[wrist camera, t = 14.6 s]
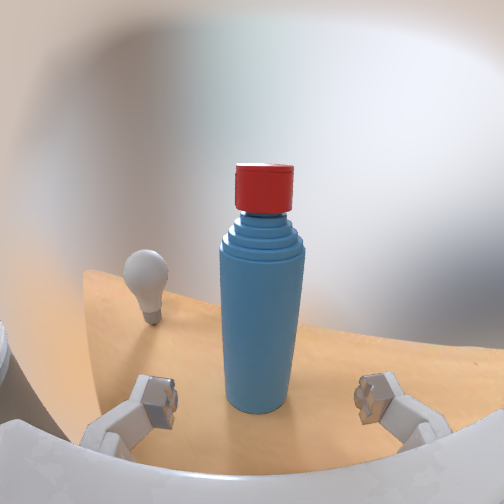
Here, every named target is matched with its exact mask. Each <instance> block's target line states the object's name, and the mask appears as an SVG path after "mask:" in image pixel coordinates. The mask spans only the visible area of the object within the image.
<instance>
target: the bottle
mask: <svg viewBox="0 0 504 504" xmlns="http://www.w3.org/2000/svg"><path fill="white" fill-rule="evenodd" d="M219 248H220V249H219V250H220V286H221V314H222V336H223V355H224V372H225V388H226V396H227V399H228V401H229V402H230V403H231V404H232V405H233V406H234V407H235V408H237V409H238V410H240V411H242V412H245V413H250V414H264V413H268V412H271V411H273V410H275V409H277V408H278V407H280V406H281V405H282V404H283V402H284V401H285V399H286V396H287V391H288V385H289V378H290V372H291V366H292V359H293V352H294V345H295V338H296V331H297V323H298V315H299V306H300V298H301V290H302V281H303V271H304V261H305V247H304V246H303V240H302V238H301V237H300V236H298V232H297V230H296V229H294V228H293V227H292V222H291V221H289V220H287V215H286V213H277V214H260V213H250V212H244V211H242V212H241V214H240V218H238V219H236V220H235V221H234V226H232V227H230V228H229V230H228V233H227V234H225V235H224V236H223V239H222V243H221V245H220V247H219Z"/></svg>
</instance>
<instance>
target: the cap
mask: <svg viewBox="0 0 504 504" xmlns="http://www.w3.org/2000/svg"><path fill="white" fill-rule="evenodd" d="M293 171H294V166H291V165H281V164H258V163H247V164H236V174H235V205H236V208H237V209H238V210H241V211H244V212H250V213H260V214H277V213H285V212H288V211H290V210H292V196H293V174H294V173H293Z"/></svg>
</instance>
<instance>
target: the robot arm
mask: <svg viewBox="0 0 504 504" xmlns="http://www.w3.org/2000/svg"><path fill="white" fill-rule="evenodd" d="M359 384H360V386H358V387H357V388H356V390H355V393H354V401H355V405H356V407H357V408H358V409H360V413H359V416H360V419H361V422H362V424H363V425H365V424H371V423H377V422H379V423H380V424H381V425H382V426H383V427H384V428H385V429H387V430H388V431H389V432H390V433H391V434H392V435H394V436H395V437H396V438H397V439H398V440H399V441H401V442H402V443H403V445H402V447H401V448H400V449H399V450H398V452H397V454H395V455H392V456H388V457H385V458H381V459H377V460H373V461H369V462H365V463H360V464H356V465H351V466H346V467H340V468H334V469H328V470H321V471H313V472H305V473H294V474H280V475H220V474H206V473H196V472H187V471H179V470H172V469H166V468H160V467H155V466H150V465H145V464H140V463H137V461H136V460H135V458H134V457H133V455H132V454H131V452H130V450H131V449H132V448H133V447H135V446H136V445H137V444H138V443H139V442H140V441H141V440H142V439H143V438H144V437H145V436H146V435H147V434H148V433H149V432H150V431H151V430H152V429H153V428H160V429H169V430H172V427H173V423H174V419H175V418H174V415H173V413H174V412H175V411H176V410H177V404H178V396H177V391H176V390H175V389H174V386H175V383H174V380H173V379H168V378H161V377H154V376H147V375H141V374H140V375H139V376H138V378H137V380H136V383H135V385H134V387H133V390H132V392H131V395H130V397H129V400H128V401H126V400H125V401H123V402H122V403H120V404H119V405H118V406H116V407H115V408H113V409H112V410H110V411H108V412H107V413H105V414H104V415H102V416H101V417H99V418H98V419H96V420H95V421H93V422H92V423H90V424H89V425H88V426H87V428H86V431H85V433H84V435H83V438H82V440H81V443H80V445H79V446H78V445H76V444H73V443H70V442H68V441H65V440H63V439H60V438H58V437H56V436H53V435H51V434H49V433H46V432H44V431H42V430H40V429H38V428H36V427H34V426H32V425H30V424H28V423H26V422H24V421H22V420H19V419H15V420H11V421H9V422H6V423H4V424H1V425H0V504H504V409H499V410H497V411H495V412H493V413H491V414H490V415H488V416H486V417H484V418H482V419H480V420H479V421H477V422H475V423H473V424H471V425H469V426H467V427H465V428H463V429H461V430H458V431H456V432H454V433H453V432H452V430H451V429H450V427H449V425H448V423H447V421H446V420H445V418H444V416H443V415H442V414H440V413H438V412H437V411H435V410H433V409H432V408H430V407H428V406H426V405H425V404H423V403H421V402H420V401H418V400H416V399H415V398H413V397H411V396H410V395H405V393H404V391H403V390H402V388H401V386H400V384H399V382H398V381H397V379H396V377H395V375H394V373H393V372H385V373H378V374H372V375H366V376H362V377H361V378H360V380H359Z"/></svg>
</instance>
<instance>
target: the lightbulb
mask: <svg viewBox="0 0 504 504" xmlns="http://www.w3.org/2000/svg"><path fill="white" fill-rule="evenodd" d="M123 277H124V280H125V283H126V285H127V286H128V288H129V289H130V290H131V292H132V293H133V294H134V295H135V296H136V298H137V300H138V302H139V305H140V308H141V310H142V311H143V315H144V318H145V321H146V322H147V323H149V324H156V323H158V322H159V321H160V320H161V319H162V317H161V306H162V302H161V298H162V292H163V289H164V287H165V285H166V282H167V280H168V268H167V264H166V262H165V260H164V259H163V258H162V257H161V256H160V255H159V254H157V253H156V252H154V251H151V250H140V251H137V252H135V253H133V254H132V255H131V256H130V257H129V258H128V259H127V261H126V263H125V265H124V269H123Z"/></svg>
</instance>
